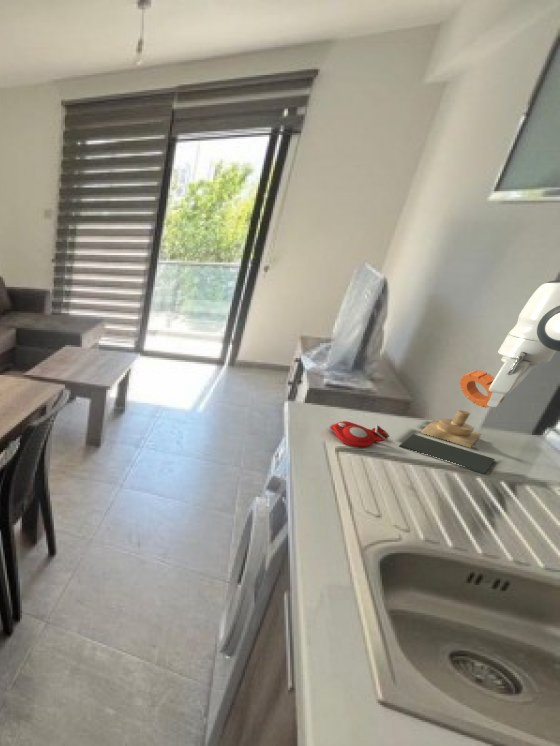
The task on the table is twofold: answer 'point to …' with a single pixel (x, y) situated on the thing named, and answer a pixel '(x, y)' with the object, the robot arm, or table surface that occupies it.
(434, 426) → the stand
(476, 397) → the ring
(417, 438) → the mat
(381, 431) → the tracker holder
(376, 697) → the table surface
